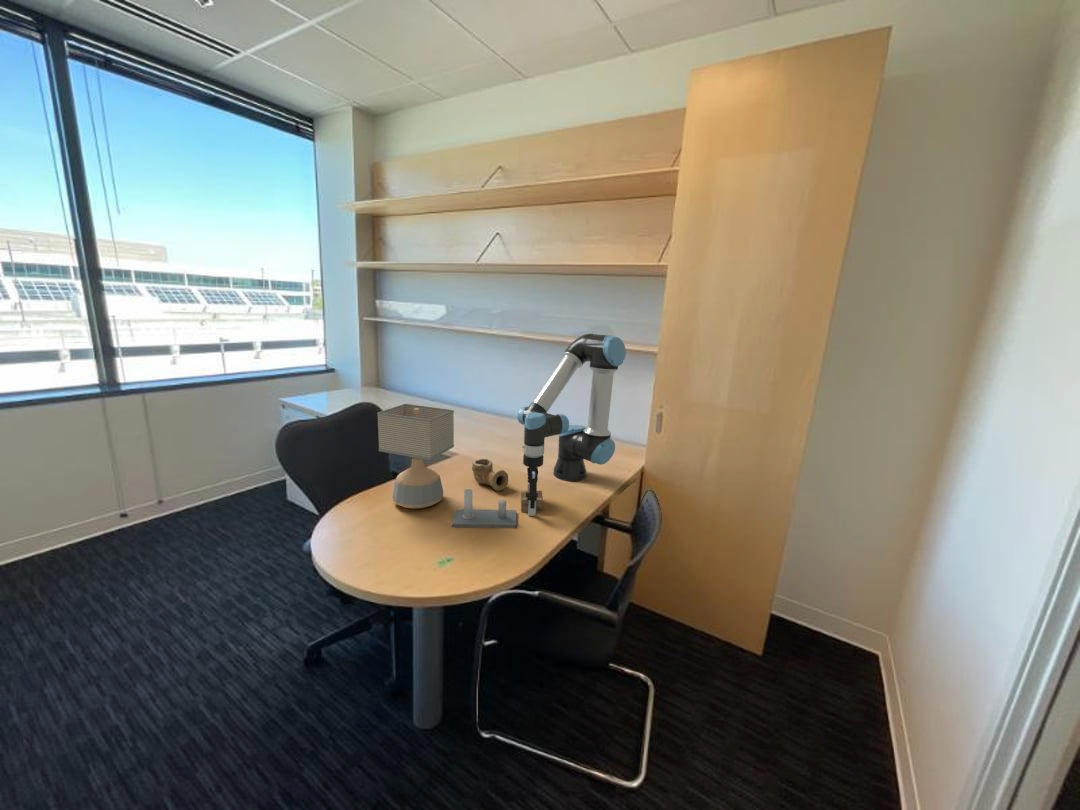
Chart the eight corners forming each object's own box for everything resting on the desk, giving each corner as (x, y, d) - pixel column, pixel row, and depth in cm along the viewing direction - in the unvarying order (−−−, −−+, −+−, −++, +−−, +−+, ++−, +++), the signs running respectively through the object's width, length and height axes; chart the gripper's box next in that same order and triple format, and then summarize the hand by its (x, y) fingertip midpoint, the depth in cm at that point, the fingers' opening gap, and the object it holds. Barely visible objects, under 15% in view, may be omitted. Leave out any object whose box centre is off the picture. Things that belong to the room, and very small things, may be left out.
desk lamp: (455, 496, 171) (455, 406, 163) (428, 517, 154) (427, 418, 145) (409, 487, 178) (407, 400, 170) (378, 506, 160) (374, 410, 152)
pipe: (494, 494, 174) (495, 471, 172) (467, 483, 184) (467, 461, 182) (509, 487, 182) (510, 465, 179) (482, 477, 191) (482, 456, 189)
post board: (515, 512, 160) (516, 484, 158) (515, 527, 150) (516, 498, 147) (456, 511, 159) (456, 484, 156) (451, 526, 148) (451, 497, 146)
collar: (541, 502, 169) (541, 490, 168) (542, 512, 161) (543, 499, 160) (520, 502, 169) (521, 490, 168) (521, 511, 161) (521, 499, 160)
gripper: (522, 443, 172) (520, 492, 177) (524, 466, 148) (521, 522, 152) (541, 444, 173) (538, 493, 177) (545, 466, 148) (542, 523, 153)
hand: (531, 507), depth 165 cm, fingers open, 13 cm apart
